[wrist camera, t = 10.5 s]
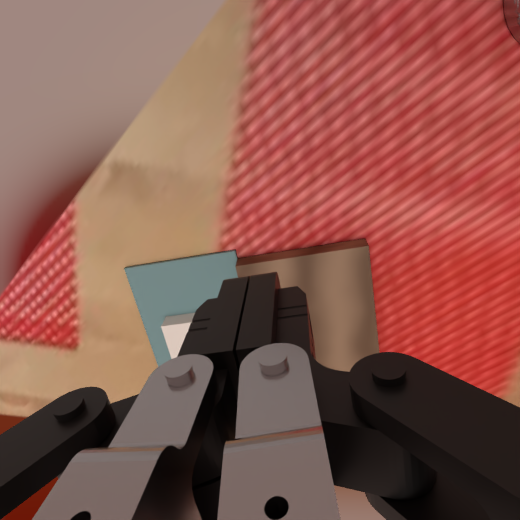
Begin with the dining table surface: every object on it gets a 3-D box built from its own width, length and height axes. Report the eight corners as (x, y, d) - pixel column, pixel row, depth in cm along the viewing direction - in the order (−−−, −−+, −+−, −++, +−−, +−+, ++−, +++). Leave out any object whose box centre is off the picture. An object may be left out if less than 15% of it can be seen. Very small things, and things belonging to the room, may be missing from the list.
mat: (235, 249, 42) (234, 251, 42) (267, 388, 49) (267, 390, 49) (125, 267, 44) (124, 268, 43) (171, 399, 51) (170, 401, 50)
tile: (245, 305, 44) (243, 315, 42) (256, 351, 47) (255, 362, 45) (165, 316, 45) (160, 326, 44) (180, 361, 48) (175, 372, 46)
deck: (365, 238, 41) (368, 245, 39) (378, 368, 47) (382, 380, 45) (237, 258, 43) (235, 266, 41) (266, 381, 49) (265, 393, 47)
